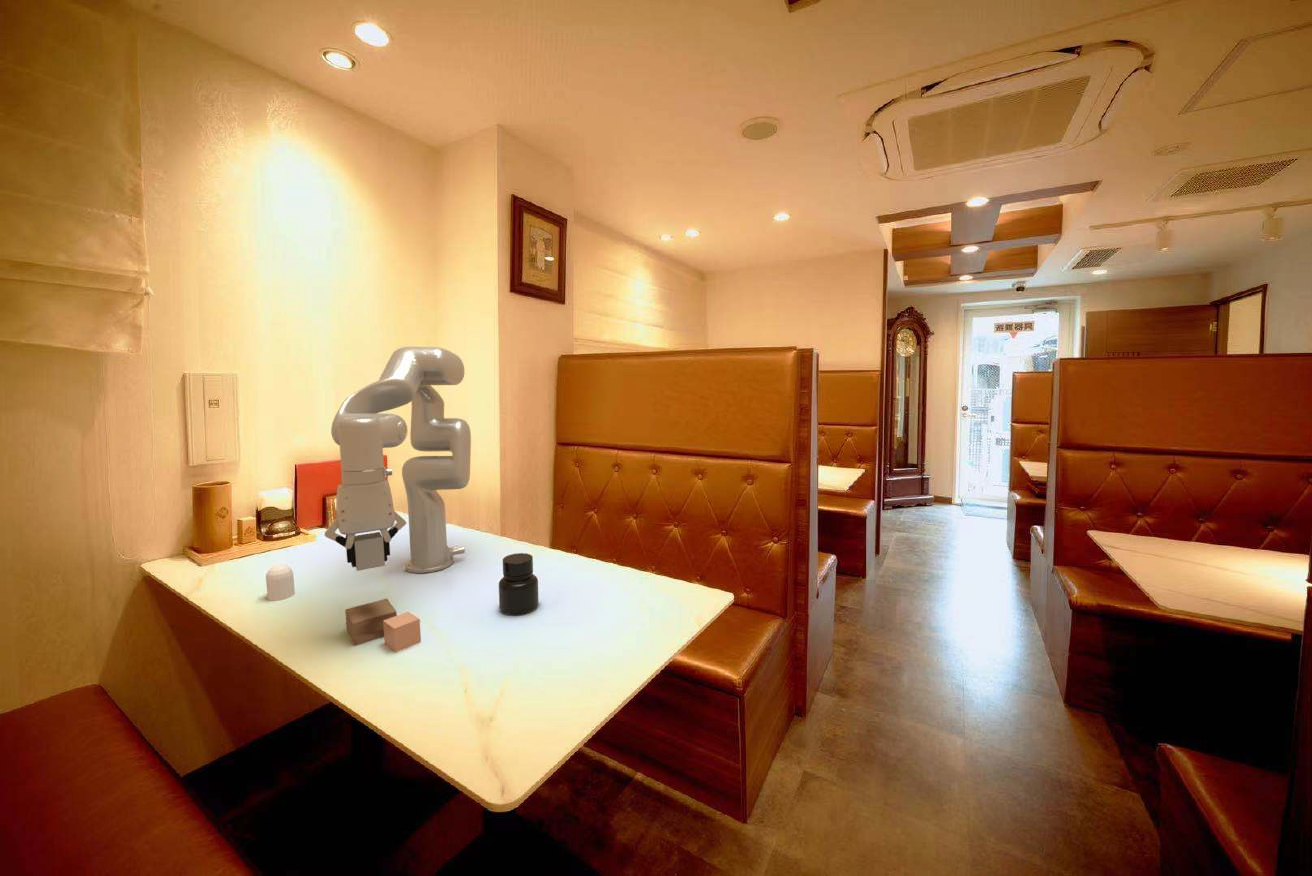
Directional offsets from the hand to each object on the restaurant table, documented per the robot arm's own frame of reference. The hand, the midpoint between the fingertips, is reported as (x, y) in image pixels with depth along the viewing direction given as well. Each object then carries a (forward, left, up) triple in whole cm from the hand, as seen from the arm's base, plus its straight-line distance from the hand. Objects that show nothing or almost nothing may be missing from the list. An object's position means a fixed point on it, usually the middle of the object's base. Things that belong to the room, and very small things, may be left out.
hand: (369, 561), depth 103 cm
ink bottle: (-29, +8, -16) cm, 34 cm away
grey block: (0, 0, -1) cm, 1 cm away
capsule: (+16, -32, -16) cm, 39 cm away
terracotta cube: (-4, +9, -15) cm, 18 cm away
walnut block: (0, 0, -16) cm, 16 cm away
